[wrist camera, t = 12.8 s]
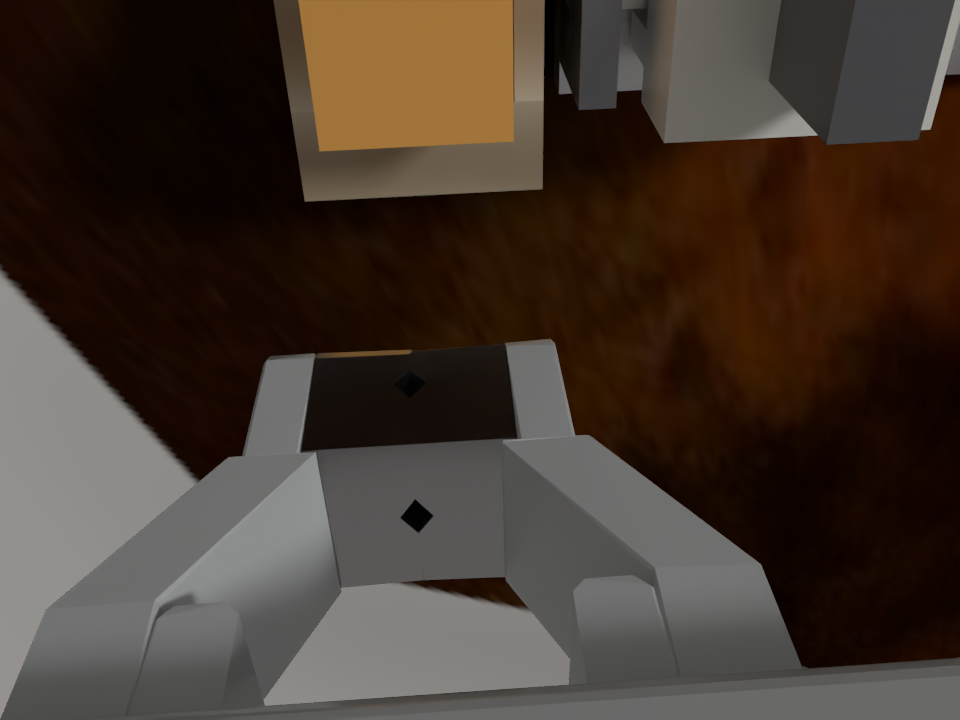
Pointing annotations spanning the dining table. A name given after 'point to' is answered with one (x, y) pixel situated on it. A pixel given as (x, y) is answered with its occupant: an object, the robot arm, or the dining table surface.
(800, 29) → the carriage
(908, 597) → the dining table surface
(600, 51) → the rail
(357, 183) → the box
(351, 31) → the orange cube
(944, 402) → the dining table surface
